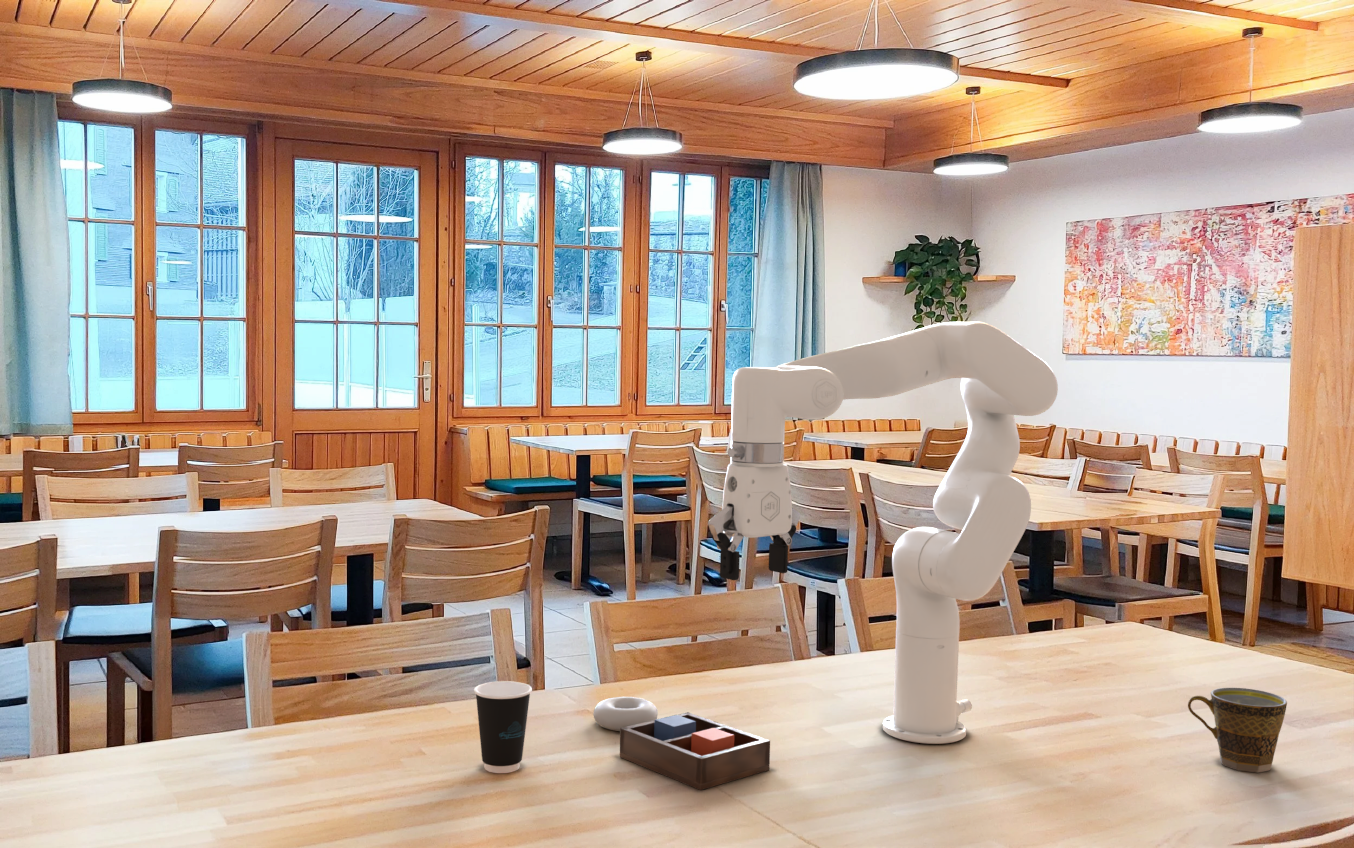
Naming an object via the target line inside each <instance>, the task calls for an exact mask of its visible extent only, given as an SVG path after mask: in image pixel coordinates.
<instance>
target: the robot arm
mask: <svg viewBox="0 0 1354 848" xmlns="http://www.w3.org/2000/svg"><path fill="white" fill-rule="evenodd" d="M950 379H961V380H960V393H961V397H962V398H961V399H962V402H963V403H964V407H965V412H966V416H967V433H966V436H965V439H964V441H963V443H962V444H961V447H960V449H959V451H958V452H957V454H956V456H955V458H954V460H952V463H951V465H950V467H949V468H948V470H947V472H946V473H945V475H944V477H943V479H942V480H941V482H940V483H939V485H938V487H937V489H936V492H935V494H934V496H933V500H932V510H933V513H934V515H935V517H936V518H937V519H938V520H939V521H940V522H941V523H943V524H944V525H946V526H947V527H950V528H953V529H957V530H959V531H960V530H961V532H960V533H958V532H954V531H951V530H946V529H942V528H937V527H932V526H918V527H914V528H910V529H909V530H907V531H905V532H904V533H902V535H900V537H899V538H898V539H897V541H896V542H895V544H894V546H893V551H892V556H891V569H892V575H893V580H894V588H895V597H896V598H895V599H896V623H895V624H896V625H895V646H894V647H895V651H894V676H893V677H894V678H893V679H894V681H893V707H892V709H893V710H892V715H889V716H887V717H886V718H884V719H883V720H882V730H883V731H884V733H886V734H887V735H889V736H890V737H893V738H895V739H898V740H902V741H906V742H912V743H917V744H919V743H920V744H930V745H938V744H939V745H941V744H942V745H943V744H950V743H955V742H958V741H961V740H963V739H965V738H966V735H967V727H966V725H965V724H963V723H962V722H961V721H959V717H960V716H961V714H964V713H968V712H970V711H972V709H973V704H972V702H971V701H970V699H967V698H966V699H962V700H958V680H959V679H958V678H959V675H958V674H959V653H960V651H959V650H960V632H961V631H960V629H961V628H960V627H961V624H960V623H961V620H960V619H961V618H960V612H959V606H958V602H957V600H959V601H966V602H971V601H977V600H979V599H981V598H983V597H984V596H986V595H987V594H988V593H989V592H990V591H991V590H992V589H993V587H995V585H996V583H997V581H998V580H999V578H1000V576H1001V575H1002V574H1003V572H1004V571H1005V570H1004V569H1005V568H1006V566H1007V564H1008V562H1009V561H1010V559H1011V557H1012V556H1013V554H1014V551H1015V550H1016V548H1017V546H1018V545H1019V543H1020V541H1021V539H1022V537H1023V535H1024V533H1025V531H1026V530H1027V527H1028V524H1029V521H1030V518H1031V513H1032V500H1031V496H1030V492H1029V490H1028V488H1027V486H1026V485H1025V484H1024V483H1023V482H1022V481H1021V480H1019V479H1018V478H1017V477H1014V476H1012V472H1013V469H1014V467H1015V466H1016V463H1017V460H1018V458H1019V455H1020V449H1021V441H1020V435H1019V432H1018V428H1017V427H1018V426H1017V422H1016V419H1015V416H1023V417H1033V416H1038V415H1041V414H1043V413H1045V412H1047V411H1048V410H1049V409H1050V408H1051V407H1052V406H1053V405H1054V403H1055V401H1056V399H1057V396H1058V392H1059V388H1058V387H1059V385H1058V381H1057V377H1056V374H1055V372H1054V370H1053V369H1052V368H1051V366H1050V365H1049V364H1048V363H1047V362H1046V361H1044V360H1043V359H1042V358H1040V356H1038V355H1036V354H1035V353H1034V352H1032V351H1031V350H1030V349H1028V348H1027V347H1025V346H1024V345H1022V344H1021V343H1019V342H1018V341H1017V340H1015V338H1012V337H1011V336H1010V335H1008V334H1007V333H1006V332H1004V331H1002V330H1001V329H1000V328H997V327H996V326H994V325H992V324H989V323H986V322H983V321H949V322H940V323H936V324H931V325H927V326H924V327H921V328H917V329H914V330H911V331H907V332H904V333H901V334H897V335H893V336H890V337H886V338H882V339H880V340H875V341H870V342H867V343H866V342H865V343H861V344H856V345H853V346H849V347H845V348H841V349H836V350H832V351H828V352H824V353H818V354H815V355H810V356H806V357H802V358H800V359H795V360H791V361H788V362H785V363H782V364H779V365H776V366H774V367H768V366H743V367H739V368H737V369H736V370H735V371H734V373H733V375H732V387H731V389H732V390H731V421H730V422H731V425H730V426H731V427H730V428H731V429H730V447H729V448H728V450H727V456H728V457H729V458H730V463H729V464H728V465H727V469H726V474H725V480H724V484H723V485H724V486H723V493H722V503H721V504H722V506H721V509H720V511H718V512H717V513H716V514H715V515H714V516H712V517H711V518H710V519H709V520H708V521H707V526H708V528H709V531H710V533H711V539H712V540H713V541H714V543H715V544H716V548H717V549H718V550H720V556H719V557H720V560H719V561H720V563H719V576H720V578H722V579H725V580H731V581H738V580H739V579H740V557H741V554H740V551H737V549H738V548H739V546H740V544H741V542H742V541H743V539H744V538H749V539H753V538H763V537H770V539H771V541H772V542H769V545H768V570H769V571H771V572H775V573H780V574H787V573H788V563H789V561H788V560H789V546H790V545H791V544H792V542H793V539H792V538H793V537H794V535H795V534H796V532H797V526H798V524H799V521H800V518H801V513H800V511H798V510H796V509H795V508H793V503H792V502H793V501H792V485H791V478H790V472H789V471H790V470H789V467H788V464H786V463H785V435H786V433H785V431H786V427H785V426H786V418H796V419H799V420H801V419H802V420H810V421H816V420H817V421H819V420H824V419H827V418H828V417H830V416H832V415H833V414H835V413H836V412H837V411H838V410H839V409H840V407H841V405H842V404H843V400H844V401H845V400H858V399H859V400H865V399H866V400H868V399H872V400H873V399H880V398H881V399H882V398H890V397H894V396H898V395H901V394H904V393H907V392H910V391H913V390H916V389H919V388H923V387H925V386H929V385H932V384H936V383H939V382H942V381H945V380H950Z"/></svg>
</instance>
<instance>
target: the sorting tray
mask: <svg viewBox="0 0 1354 848" xmlns="http://www.w3.org/2000/svg"><path fill="white" fill-rule="evenodd" d="M677 715H679V716H682V717H685V718H687V719H690V720H693V721H696V732H699V731H703V730H707V729H711V728H716V729H719V730H721V731H724V732H727V733H730V734H733V735H734V747H733V748H729V749H725V750H722V751H718V752H714V753H711V754H707V755H703V756H701V755H698V754H696V753H693V752H691V740H692V734H689V735H685V736H681V737H677V738H673V739H669V740H665V741H661V740H659V739H656V738H654V724H655V720H653V721H648V722H644V723H640V724H636V725H631V726H627V727H623V728H620V731H619V758H621V759H623V760H626V761H629V762H631V763H633V764H635V765H638V766H641V767H643V768H646V769H648V770H650V771H652V772H655V773H658V774H660V775H662V776H664V777H666V778H667V777H668V778H670V779H673V780H675V781H677V782H680V783H682V784H685V785H687V786H689V787H691V788H695V789H696V790H700V791H703V790H705V789H706V790H707V789H710V788H712V787H716V786H719V785H723V784H726V783H727V784H728V783H730V782H733V781H737V780H741V779H744V778H747V777H750V776H753V775H754V776H755V775H757V774H760V773H763V772H767V771H770V760H771V740H770V739H767V738H765V737H762V736H759V735H755V734H753V733H750V732H747V731H744V730H741V729H738V728H735V727H732V726H731V725H730V726H729V725H726V724H724V723H721V722H718V721H715V720H712V719H709V718H706V717H704V716H700V715H697V714H695V713H692V712H689V711H687V712H682V713H679V714H677Z"/></svg>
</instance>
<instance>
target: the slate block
mask: <svg viewBox="0 0 1354 848" xmlns="http://www.w3.org/2000/svg"><path fill="white" fill-rule="evenodd" d="M695 732H696V721H693V720H690V719H687V718H685V717H682V716H679V715H678V714H674V715H669V716H665V717H661V718H657V719H656V720H655V724H654V738H656V739H659V740H661V741H665V740H669V739H673V738H677V737H681V736H685V735H689V734H692V733H695Z"/></svg>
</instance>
